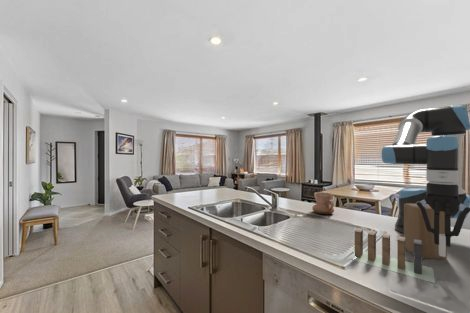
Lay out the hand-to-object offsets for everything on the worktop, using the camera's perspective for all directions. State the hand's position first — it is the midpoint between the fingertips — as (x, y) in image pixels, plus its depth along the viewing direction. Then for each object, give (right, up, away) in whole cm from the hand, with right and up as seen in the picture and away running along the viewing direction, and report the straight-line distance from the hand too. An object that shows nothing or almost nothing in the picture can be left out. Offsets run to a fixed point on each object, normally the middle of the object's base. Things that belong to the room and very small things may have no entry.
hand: (442, 255), depth 69 cm
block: (+10, -8, +18) cm, 22 cm away
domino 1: (-15, -7, +13) cm, 21 cm away
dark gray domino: (-5, -7, +4) cm, 9 cm away
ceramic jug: (-4, -9, +83) cm, 83 cm away
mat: (-11, -8, +10) cm, 17 cm away
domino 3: (-8, -7, +7) cm, 13 cm away
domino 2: (-11, -7, +10) cm, 17 cm away
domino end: (-18, -7, +16) cm, 25 cm away
